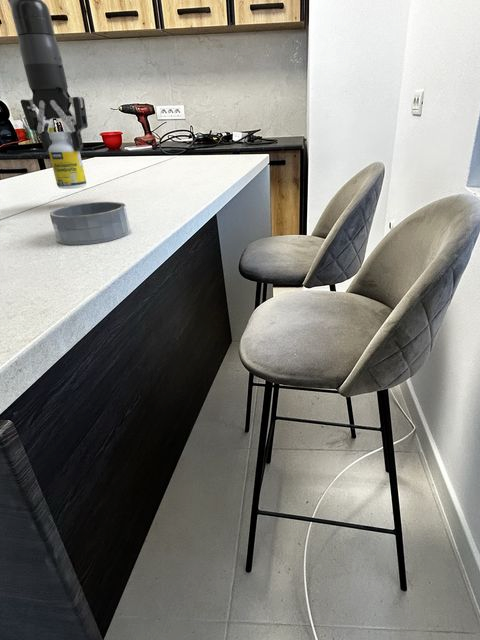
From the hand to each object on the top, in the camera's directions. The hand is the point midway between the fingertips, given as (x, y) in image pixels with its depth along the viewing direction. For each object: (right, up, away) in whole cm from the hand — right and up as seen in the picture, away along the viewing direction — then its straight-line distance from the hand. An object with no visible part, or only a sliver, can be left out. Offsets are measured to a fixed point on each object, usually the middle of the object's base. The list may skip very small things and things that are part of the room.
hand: (64, 151), depth 97 cm
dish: (+15, -25, -22) cm, 37 cm away
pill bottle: (0, -7, +4) cm, 8 cm away
